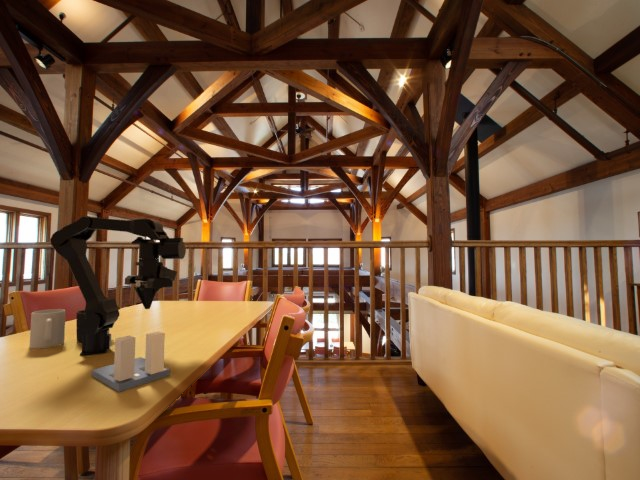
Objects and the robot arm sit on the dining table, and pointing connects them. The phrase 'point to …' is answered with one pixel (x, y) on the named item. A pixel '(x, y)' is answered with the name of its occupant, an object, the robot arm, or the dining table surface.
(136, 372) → the grey base plate
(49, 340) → the mug
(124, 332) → the dining table surface
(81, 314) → the pen holder
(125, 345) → the tab
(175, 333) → the dining table surface
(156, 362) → the tab
